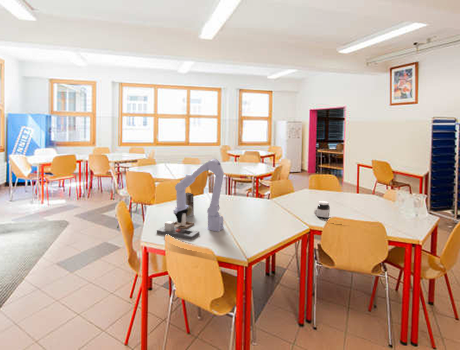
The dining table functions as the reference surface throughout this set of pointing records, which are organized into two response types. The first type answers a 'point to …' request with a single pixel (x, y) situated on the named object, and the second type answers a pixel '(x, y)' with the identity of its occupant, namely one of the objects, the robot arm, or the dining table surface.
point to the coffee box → (190, 204)
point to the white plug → (182, 220)
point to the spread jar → (322, 210)
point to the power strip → (179, 233)
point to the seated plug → (169, 226)
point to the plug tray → (186, 226)
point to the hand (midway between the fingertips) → (181, 221)
